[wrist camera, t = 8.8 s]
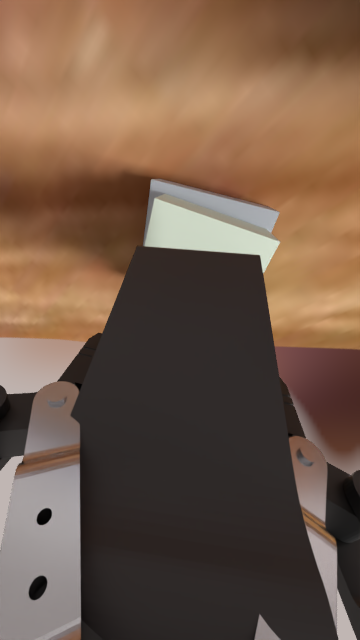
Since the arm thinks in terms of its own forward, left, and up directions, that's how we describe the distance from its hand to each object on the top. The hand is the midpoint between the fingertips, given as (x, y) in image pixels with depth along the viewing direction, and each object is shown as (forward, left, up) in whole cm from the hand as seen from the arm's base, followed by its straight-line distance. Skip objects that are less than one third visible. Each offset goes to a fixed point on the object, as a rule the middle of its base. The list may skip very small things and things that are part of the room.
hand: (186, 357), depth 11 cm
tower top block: (0, 0, -15) cm, 15 cm away
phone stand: (0, 0, -3) cm, 3 cm away
